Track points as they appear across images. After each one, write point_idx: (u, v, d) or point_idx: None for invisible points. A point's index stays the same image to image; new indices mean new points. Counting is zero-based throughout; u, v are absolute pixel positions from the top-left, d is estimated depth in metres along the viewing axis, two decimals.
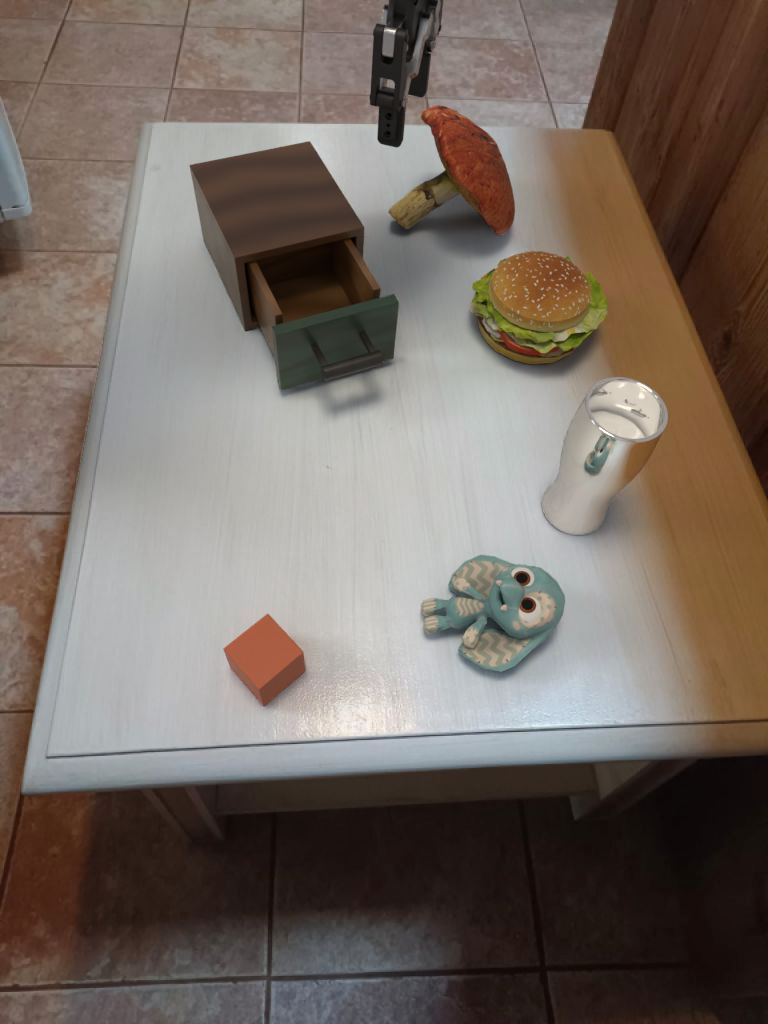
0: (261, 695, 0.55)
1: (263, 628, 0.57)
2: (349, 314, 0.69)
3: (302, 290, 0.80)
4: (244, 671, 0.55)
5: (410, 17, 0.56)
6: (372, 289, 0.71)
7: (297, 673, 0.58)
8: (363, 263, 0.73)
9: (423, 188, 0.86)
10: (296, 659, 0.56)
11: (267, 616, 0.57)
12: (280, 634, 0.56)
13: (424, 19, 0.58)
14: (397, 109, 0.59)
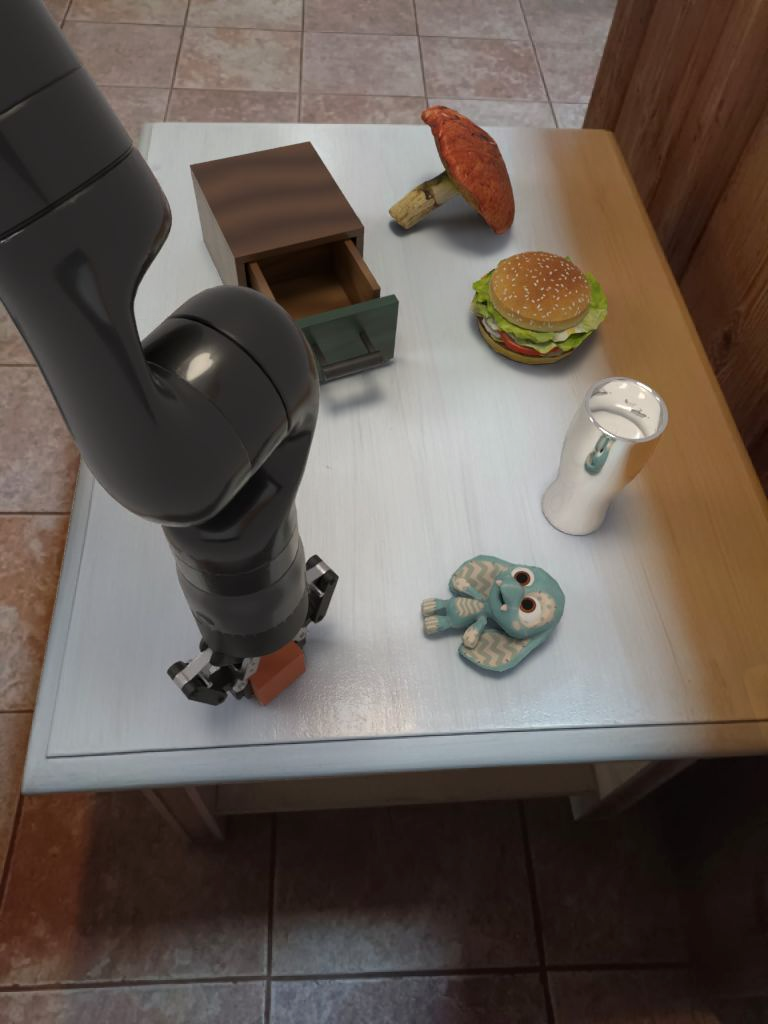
0: (261, 695, 0.55)
1: None
2: (349, 314, 0.69)
3: (302, 290, 0.80)
4: None
5: (216, 660, 0.48)
6: (372, 289, 0.71)
7: (297, 673, 0.58)
8: (363, 263, 0.73)
9: (423, 188, 0.86)
10: (296, 659, 0.56)
11: None
12: None
13: None
14: (217, 704, 0.53)
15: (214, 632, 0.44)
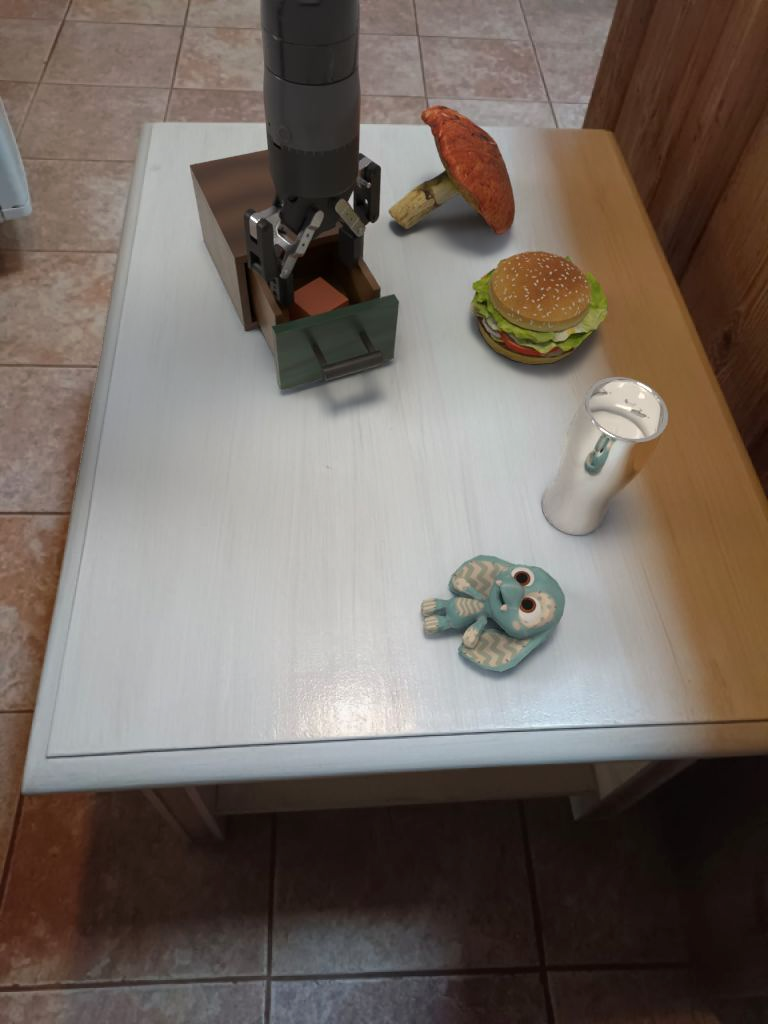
0: None
1: (317, 285, 0.74)
2: (349, 314, 0.69)
3: None
4: (304, 309, 0.72)
5: (286, 210, 0.61)
6: (372, 289, 0.71)
7: None
8: (363, 263, 0.73)
9: (423, 188, 0.86)
10: (343, 304, 0.73)
11: (320, 278, 0.74)
12: (330, 289, 0.74)
13: (311, 213, 0.62)
14: (265, 280, 0.64)
15: (290, 154, 0.56)
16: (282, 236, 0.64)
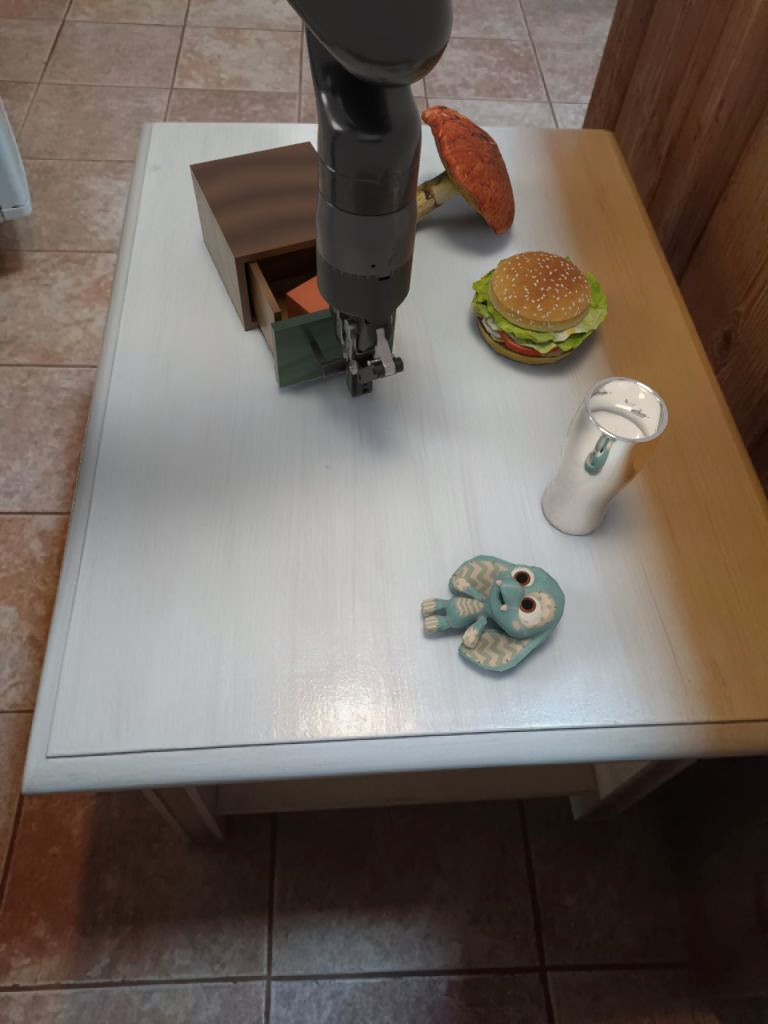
0: None
1: (316, 282, 0.74)
2: None
3: None
4: (303, 306, 0.72)
5: (391, 328, 0.58)
6: None
7: None
8: None
9: (423, 188, 0.86)
10: None
11: None
12: None
13: None
14: None
15: (399, 273, 0.54)
16: (363, 351, 0.63)
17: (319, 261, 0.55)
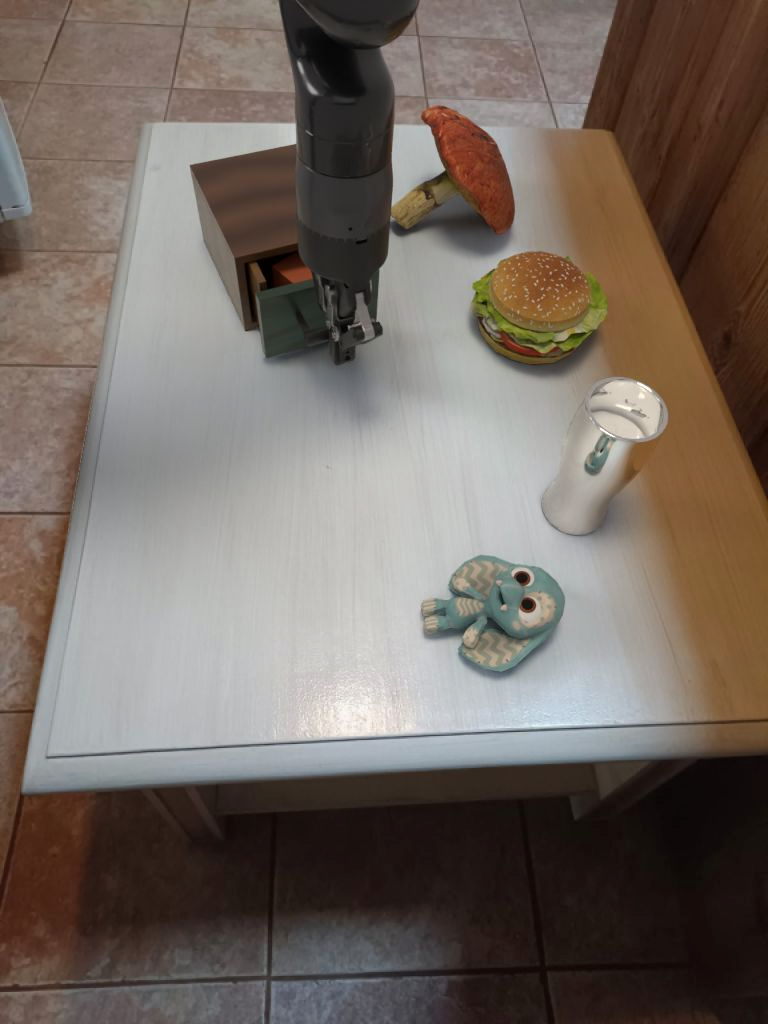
0: None
1: None
2: None
3: None
4: (288, 278, 0.74)
5: (369, 293, 0.60)
6: None
7: None
8: None
9: (423, 188, 0.86)
10: None
11: None
12: None
13: None
14: None
15: (376, 237, 0.56)
16: (344, 317, 0.65)
17: (299, 226, 0.57)
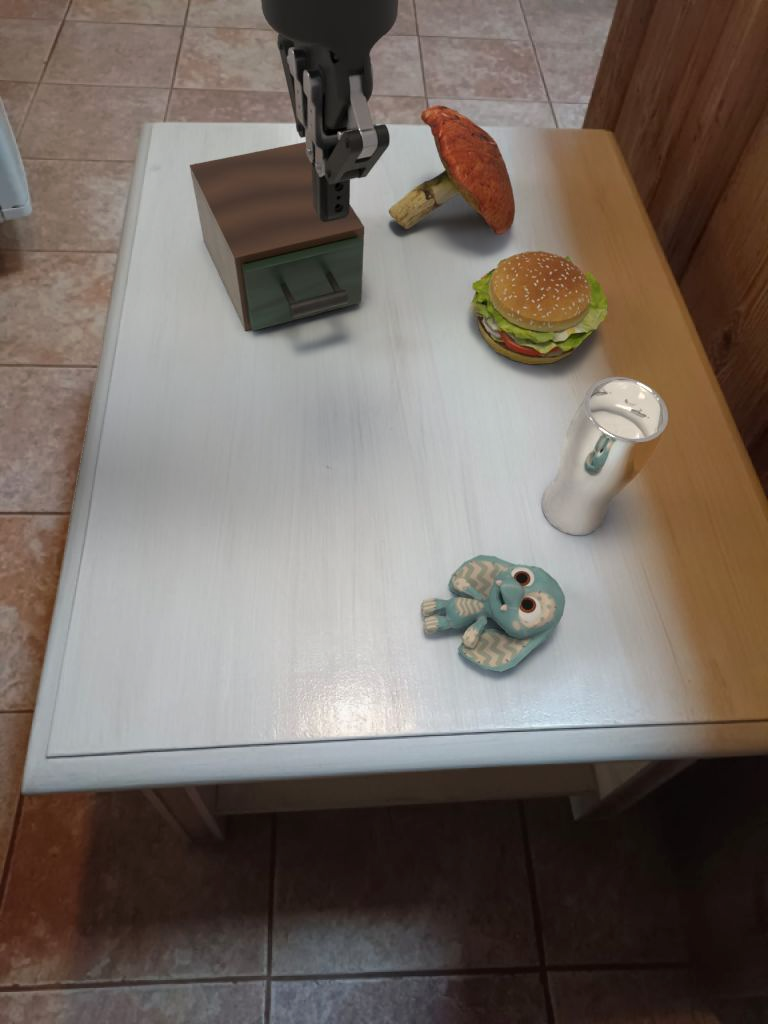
0: None
1: None
2: (315, 254, 0.73)
3: None
4: None
5: (370, 75, 0.40)
6: None
7: None
8: None
9: (423, 188, 0.86)
10: None
11: None
12: None
13: None
14: None
15: None
16: (332, 133, 0.45)
17: None
